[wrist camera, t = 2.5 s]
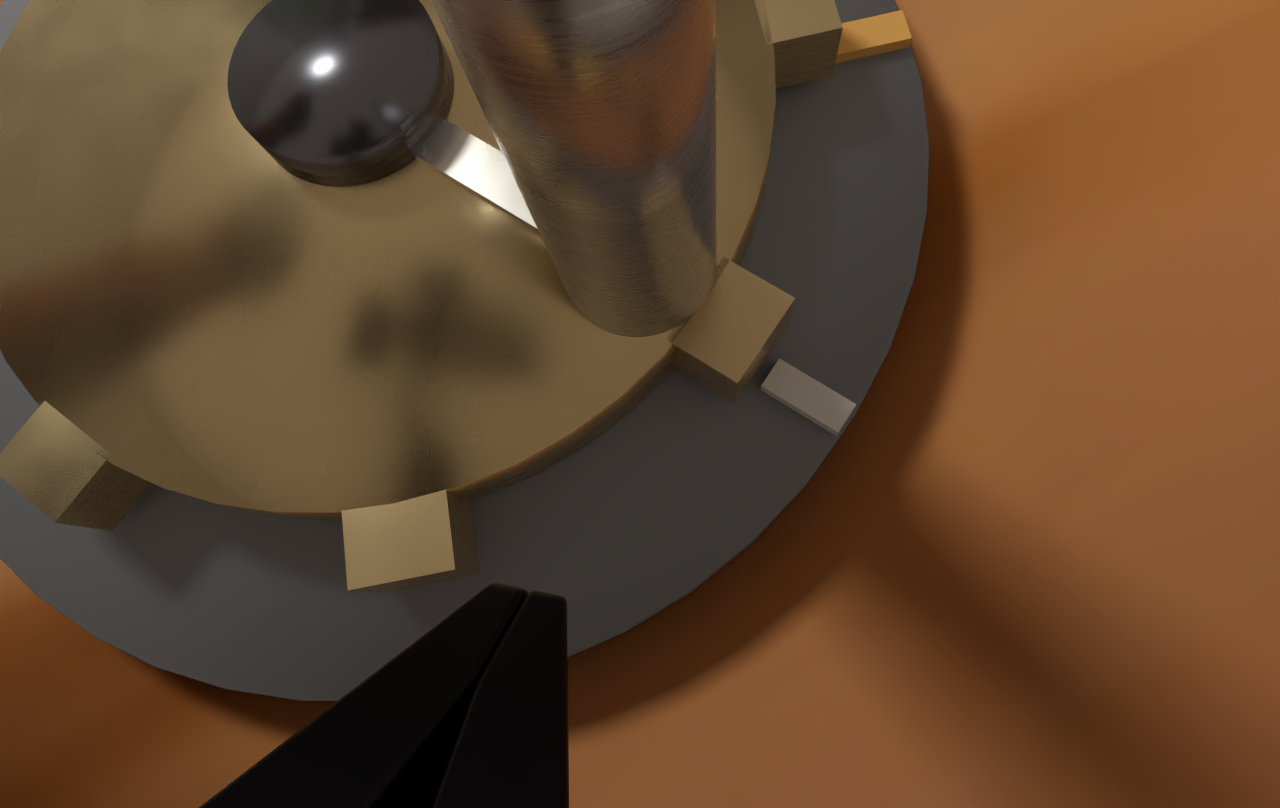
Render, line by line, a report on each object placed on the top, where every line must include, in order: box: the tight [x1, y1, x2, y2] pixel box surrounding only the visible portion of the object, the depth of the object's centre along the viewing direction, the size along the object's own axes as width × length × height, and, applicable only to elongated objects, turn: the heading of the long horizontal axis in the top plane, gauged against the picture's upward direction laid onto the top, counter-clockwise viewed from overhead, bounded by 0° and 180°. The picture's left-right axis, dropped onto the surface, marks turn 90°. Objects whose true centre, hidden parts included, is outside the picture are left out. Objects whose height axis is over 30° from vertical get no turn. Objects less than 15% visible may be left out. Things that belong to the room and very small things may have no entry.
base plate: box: [0, 0, 929, 701], centre depth 19 cm, size 25×25×2 cm
